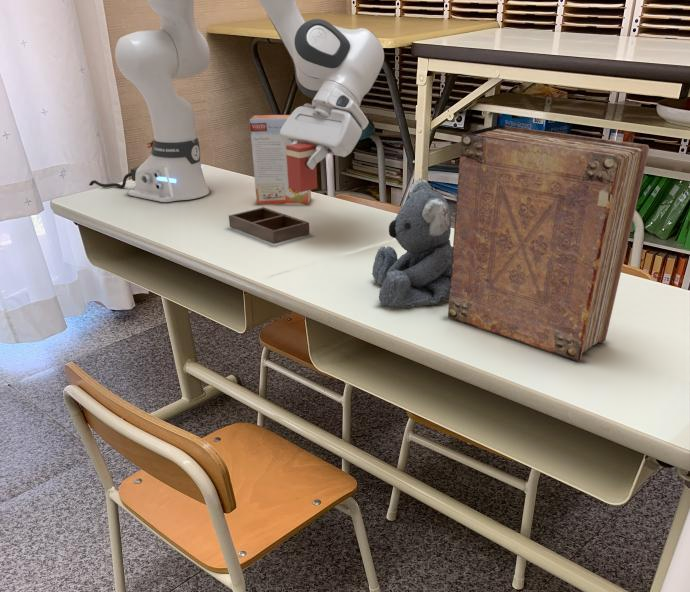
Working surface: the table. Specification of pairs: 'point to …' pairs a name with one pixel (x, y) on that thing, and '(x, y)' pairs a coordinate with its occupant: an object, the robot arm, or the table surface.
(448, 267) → the koala plush
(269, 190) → the cracker box
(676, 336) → the table surface
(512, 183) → the book
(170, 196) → the robot arm
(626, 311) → the table surface
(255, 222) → the organiser
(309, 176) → the carton
